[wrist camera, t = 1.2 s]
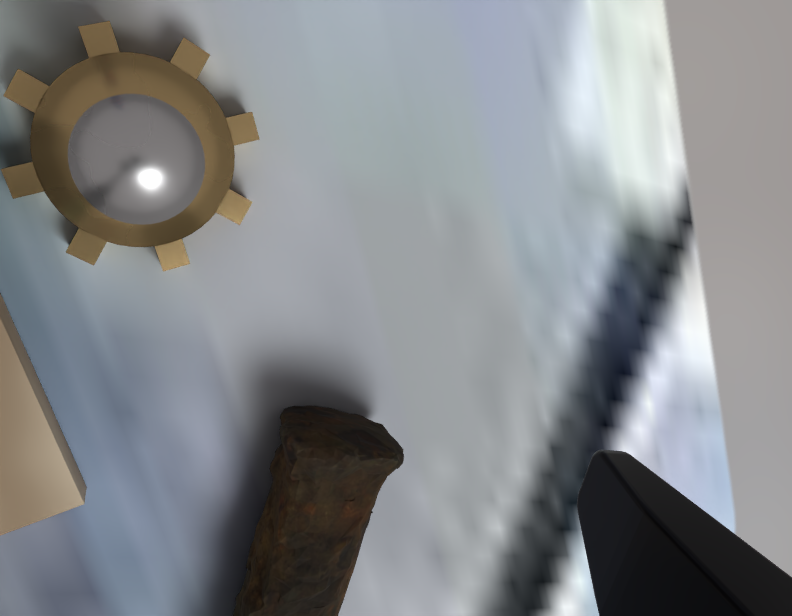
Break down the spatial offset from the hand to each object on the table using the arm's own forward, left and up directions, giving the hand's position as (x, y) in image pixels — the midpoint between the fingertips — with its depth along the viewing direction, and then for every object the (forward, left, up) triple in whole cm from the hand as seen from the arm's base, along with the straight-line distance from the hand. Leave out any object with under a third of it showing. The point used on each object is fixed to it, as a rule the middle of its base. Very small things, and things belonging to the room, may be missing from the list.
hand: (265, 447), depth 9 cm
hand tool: (-2, -18, -17) cm, 24 cm away
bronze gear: (0, +3, -16) cm, 16 cm away
